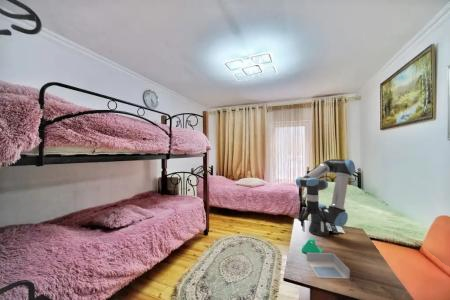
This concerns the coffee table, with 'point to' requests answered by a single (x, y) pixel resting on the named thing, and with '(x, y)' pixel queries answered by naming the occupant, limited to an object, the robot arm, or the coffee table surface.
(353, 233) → the coffee table surface
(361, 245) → the coffee table surface
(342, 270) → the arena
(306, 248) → the camera mount
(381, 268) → the coffee table surface
